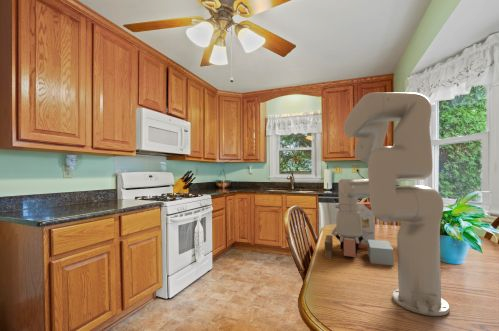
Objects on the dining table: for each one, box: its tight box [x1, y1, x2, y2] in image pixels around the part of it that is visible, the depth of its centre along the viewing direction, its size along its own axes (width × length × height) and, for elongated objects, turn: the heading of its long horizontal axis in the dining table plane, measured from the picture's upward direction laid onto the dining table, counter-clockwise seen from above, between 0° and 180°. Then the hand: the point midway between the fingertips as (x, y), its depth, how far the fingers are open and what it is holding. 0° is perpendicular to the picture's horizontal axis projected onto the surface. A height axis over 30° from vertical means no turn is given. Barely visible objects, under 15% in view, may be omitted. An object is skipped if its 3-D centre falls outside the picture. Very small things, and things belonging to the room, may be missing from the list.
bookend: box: [324, 234, 334, 259], centre depth 107 cm, size 12×2×6 cm, turn 159°
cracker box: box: [343, 201, 376, 250], centre depth 117 cm, size 14×6×21 cm, turn 73°
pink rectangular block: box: [343, 236, 357, 258], centre depth 104 cm, size 10×4×6 cm, turn 159°
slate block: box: [367, 239, 395, 266], centre depth 100 cm, size 12×8×6 cm, turn 159°
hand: (349, 251), depth 104 cm, fingers closed on pink rectangular block, 4 cm apart
